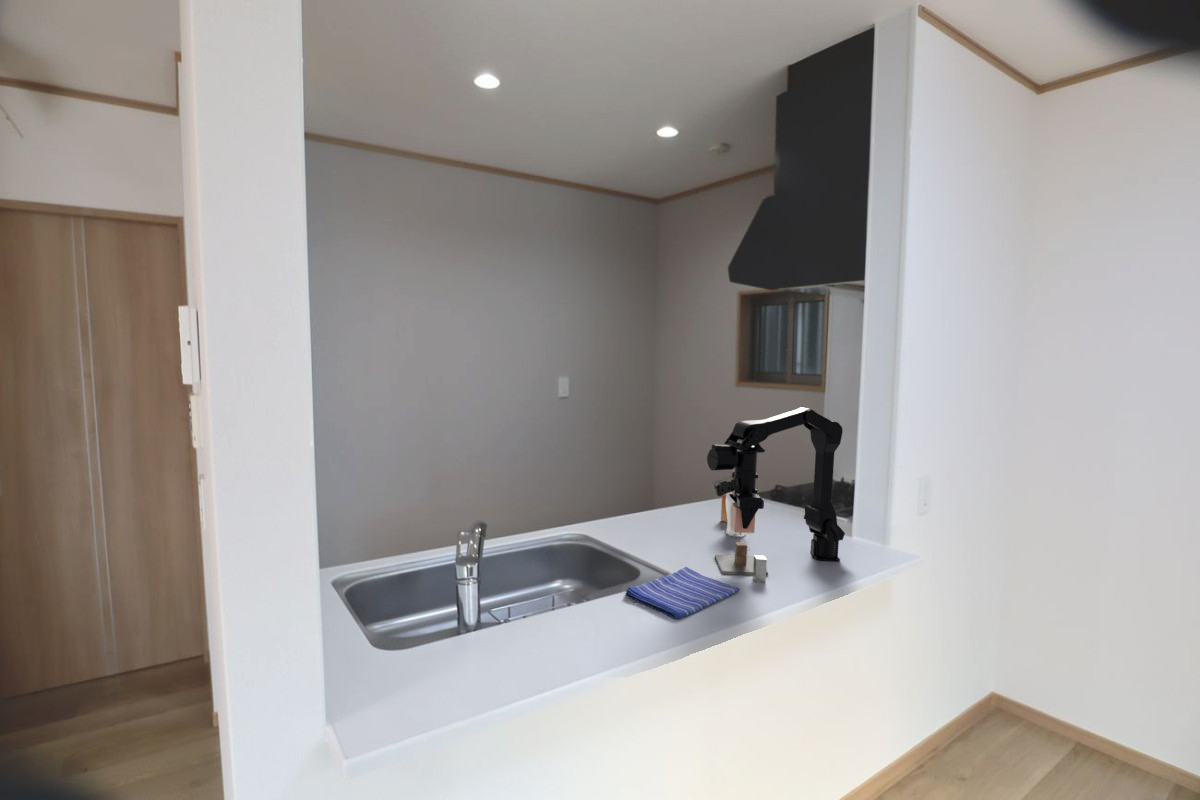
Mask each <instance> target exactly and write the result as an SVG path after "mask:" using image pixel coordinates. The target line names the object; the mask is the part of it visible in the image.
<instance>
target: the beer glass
mask: <svg viewBox="0 0 1200 800" xmlns="http://www.w3.org/2000/svg"><path fill="white" fill-rule="evenodd" d="M729 494H732V492H730V493H726V512H727V522H728V523H726V529H725V534H726V536H728V535H729V537H731V536H732V538H743V536H744V537H746V533H739V532H734V530H733V529H732V527H731V514H732V503H735V501H734V500H733V499H732V498H731V497H730V496H729Z"/></svg>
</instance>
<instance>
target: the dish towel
mask: <svg viewBox="0 0 1200 800" xmlns="http://www.w3.org/2000/svg"><path fill="white" fill-rule="evenodd" d="M738 591H740V588H739V587H737V586H733V585H730V584H728V583H725V582H722V581H719V580H717V579H714V578H712V577H708V576H705V575H703V574H701V573H699V572H697V571H696V570H693V569H691V568H689V567H688V566H685V567H683V568H680V569H679V570H678V571H675V572H673V573H670V574H666V575H665V576H661V577H659V578H657V579H653V580H651V581H647V582H645V583H641V584H639V585H632V586H627V589H626V590H625V592H624V594H625V596H627V597H628V598H630V599H632V600H634V601H637V602H638V603H640V604H642V605H645V606H647V607H648V608H651V609H653V610H655V611H658V612H659V613H661V614H664V615H665V616H668V617H670V618H671V619H674V620H680V619H682V618H684V617H688V616H690V615H693V614H695V613H698V612H700V611H702V610H703V609H706V608H708V607H710V606H712V605H714V604H717V603H718V602H721V601H724V600H725V599H727V598H730V597H731V596H733V595H735V594H736V593H737V592H738Z"/></svg>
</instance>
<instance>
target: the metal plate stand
mask: <svg viewBox="0 0 1200 800" xmlns="http://www.w3.org/2000/svg"><path fill="white" fill-rule="evenodd" d="M714 559H715V562H716V563H717V565H718V568H719V570H720V572H721V575H742V576H753V567H754V555H748V545H747V543H746V541H745V542H744V541H735V549H734V554H714ZM767 575H768V576H769V572H768V570H767V569H766V576H767Z"/></svg>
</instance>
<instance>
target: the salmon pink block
mask: <svg viewBox="0 0 1200 800" xmlns="http://www.w3.org/2000/svg"><path fill="white" fill-rule="evenodd" d="M755 524H756V514H755V515H754V517H753V519H752V521H751V522H750V524H749V526H748V528H747V529H744V528H743V525H742V517H741V510H740V509H739V508H738V507H737V505H736V504H735V503H732V514H731V527H732V529H733V530H734V532H739V533H745V534H747V533H749V534H755V529H756V528H755V527H756V526H755Z"/></svg>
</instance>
